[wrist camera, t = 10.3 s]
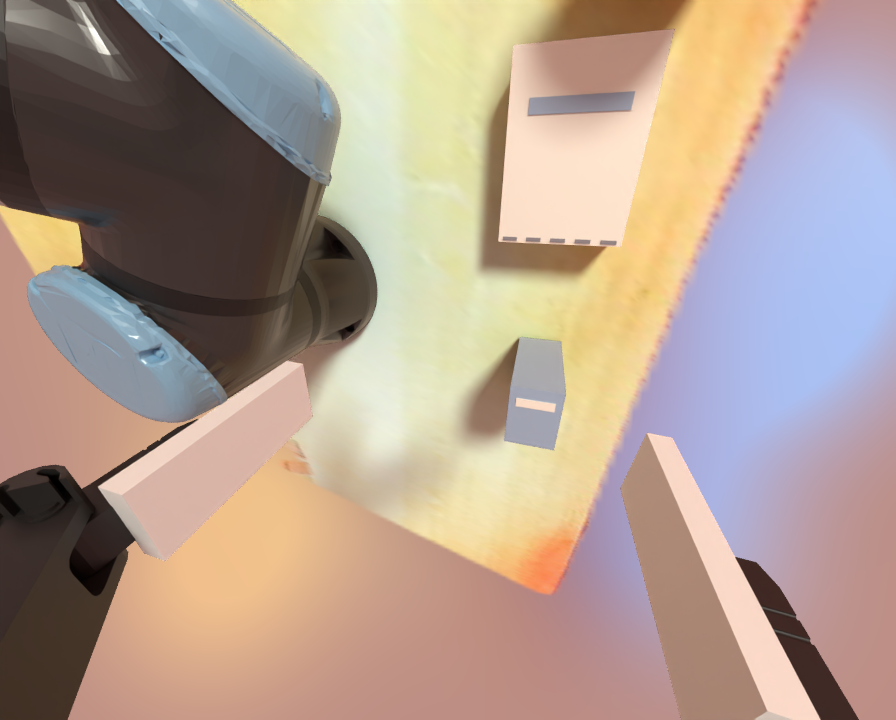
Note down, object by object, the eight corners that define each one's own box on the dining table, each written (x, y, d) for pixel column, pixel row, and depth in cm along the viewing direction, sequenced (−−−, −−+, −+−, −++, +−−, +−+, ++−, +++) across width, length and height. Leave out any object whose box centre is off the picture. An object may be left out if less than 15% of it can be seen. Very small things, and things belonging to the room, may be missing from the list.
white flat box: (503, 236, 32) (498, 241, 28) (517, 65, 26) (513, 44, 22) (612, 240, 29) (621, 247, 26) (656, 53, 23) (675, 28, 20)
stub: (514, 382, 38) (504, 441, 29) (520, 336, 35) (510, 386, 26) (552, 388, 37) (553, 451, 28) (561, 341, 34) (566, 394, 25)
